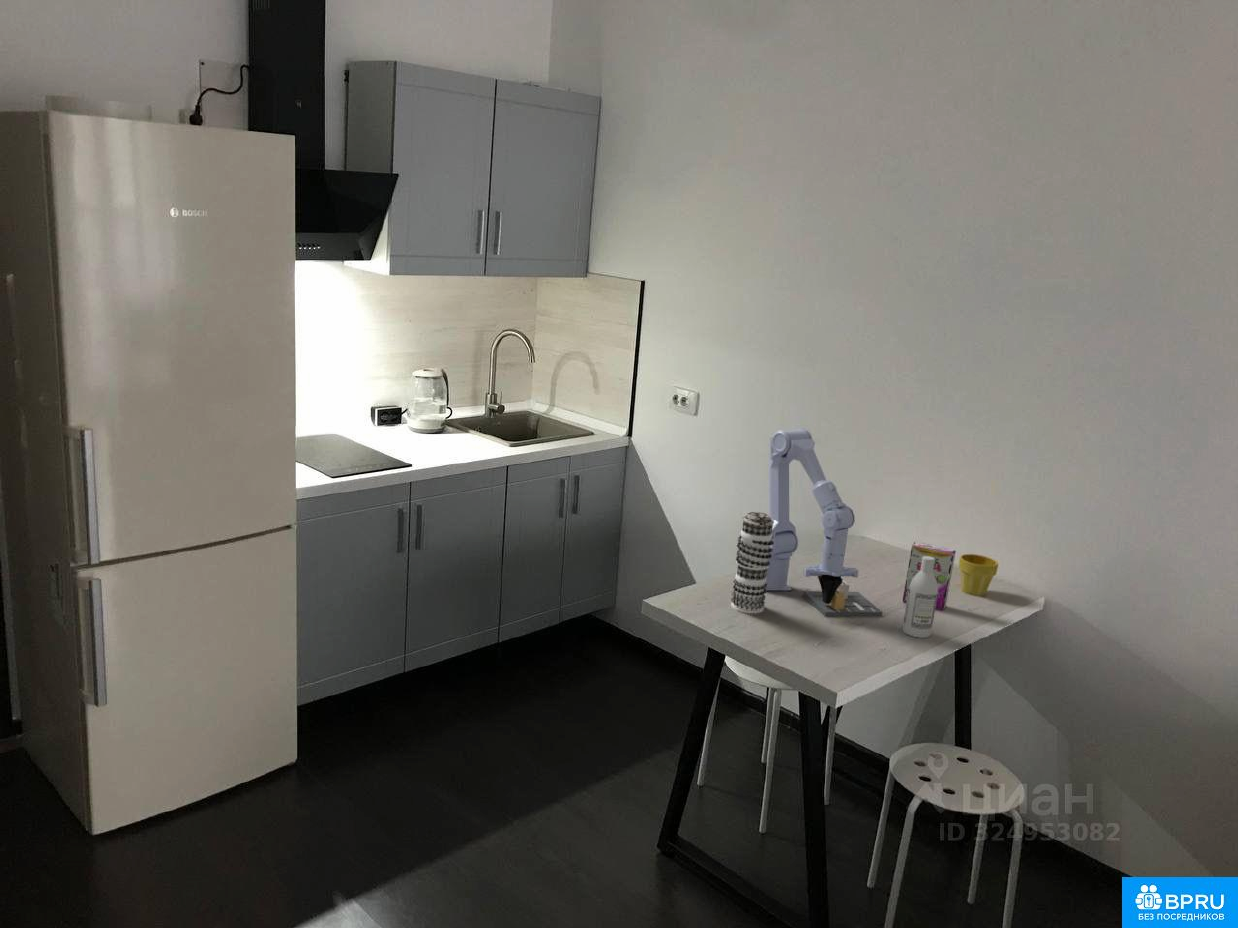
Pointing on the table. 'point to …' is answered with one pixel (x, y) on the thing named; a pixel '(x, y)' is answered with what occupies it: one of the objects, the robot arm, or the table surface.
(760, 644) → the table surface
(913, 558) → the candy bar box
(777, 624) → the table surface
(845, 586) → the cream fader knob
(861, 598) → the mixing board
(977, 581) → the plant pot
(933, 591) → the bath foam
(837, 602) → the amber fader knob
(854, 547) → the table surface
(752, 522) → the decorative candle
